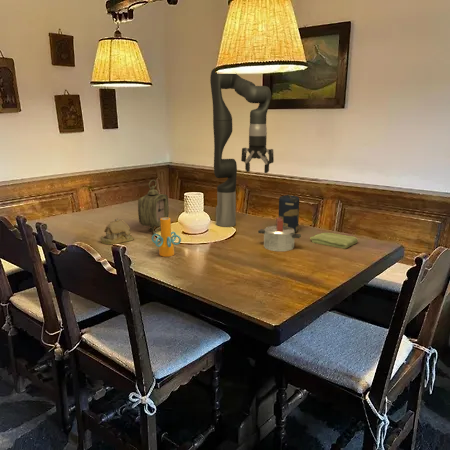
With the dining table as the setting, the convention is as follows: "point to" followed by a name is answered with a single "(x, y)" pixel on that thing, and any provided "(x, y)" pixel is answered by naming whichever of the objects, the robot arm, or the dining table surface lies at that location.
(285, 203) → the canister
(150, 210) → the tabletop clock
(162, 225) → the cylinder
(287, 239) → the pot
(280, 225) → the lid
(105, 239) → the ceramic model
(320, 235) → the washcloth
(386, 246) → the dining table surface
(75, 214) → the dining table surface
